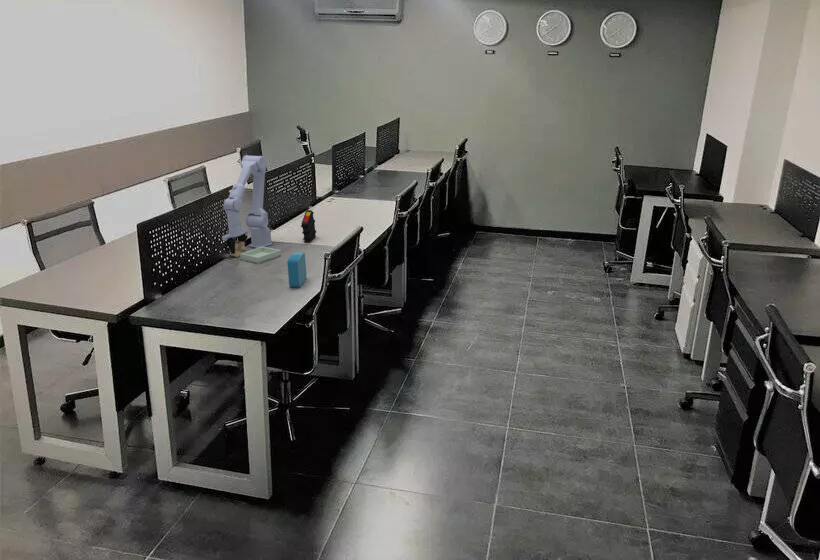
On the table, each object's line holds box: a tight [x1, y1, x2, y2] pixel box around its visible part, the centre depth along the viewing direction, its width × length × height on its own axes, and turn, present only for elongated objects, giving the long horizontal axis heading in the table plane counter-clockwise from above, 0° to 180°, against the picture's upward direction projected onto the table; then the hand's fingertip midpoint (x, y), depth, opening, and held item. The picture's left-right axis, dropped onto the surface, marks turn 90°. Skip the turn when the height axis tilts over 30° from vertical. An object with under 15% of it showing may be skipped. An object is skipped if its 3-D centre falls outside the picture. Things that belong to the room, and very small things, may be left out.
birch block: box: [228, 240, 246, 258], centre depth 312 cm, size 5×5×6 cm
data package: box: [287, 251, 307, 288], centre depth 273 cm, size 12×4×12 cm, turn 175°
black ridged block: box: [300, 209, 317, 244], centre depth 334 cm, size 4×13×15 cm, turn 172°
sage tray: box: [239, 246, 282, 265], centre depth 308 cm, size 14×12×3 cm
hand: (237, 251), depth 313 cm, fingers closed on birch block, 5 cm apart
